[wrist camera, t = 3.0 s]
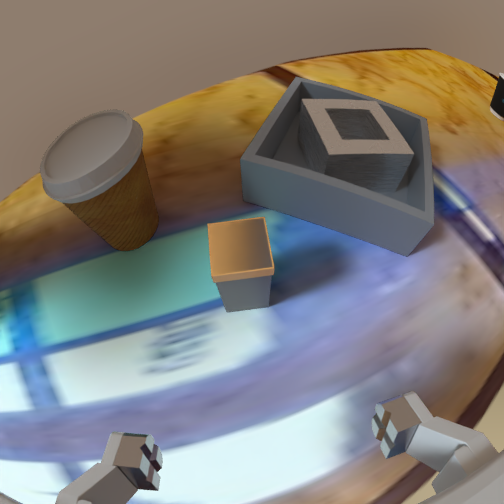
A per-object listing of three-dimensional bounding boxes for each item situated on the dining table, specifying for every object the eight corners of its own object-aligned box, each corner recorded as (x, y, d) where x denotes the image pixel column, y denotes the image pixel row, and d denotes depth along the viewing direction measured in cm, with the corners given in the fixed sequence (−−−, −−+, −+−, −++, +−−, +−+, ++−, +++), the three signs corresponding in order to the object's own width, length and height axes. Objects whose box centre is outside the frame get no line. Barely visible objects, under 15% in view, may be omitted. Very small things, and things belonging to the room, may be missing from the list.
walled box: (243, 200, 30) (240, 159, 25) (293, 111, 38) (295, 77, 32) (406, 256, 26) (434, 224, 21) (412, 150, 34) (426, 118, 29)
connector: (225, 313, 24) (211, 276, 17) (221, 273, 26) (207, 223, 19) (269, 307, 24) (274, 268, 17) (263, 268, 26) (264, 216, 19)
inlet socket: (318, 197, 29) (329, 154, 23) (297, 139, 33) (301, 98, 28) (395, 191, 29) (414, 153, 24) (365, 137, 33) (376, 101, 28)
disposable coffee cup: (148, 178, 32) (116, 95, 21) (190, 228, 28) (158, 134, 18) (83, 223, 29) (30, 152, 19) (114, 283, 26) (44, 212, 15)
